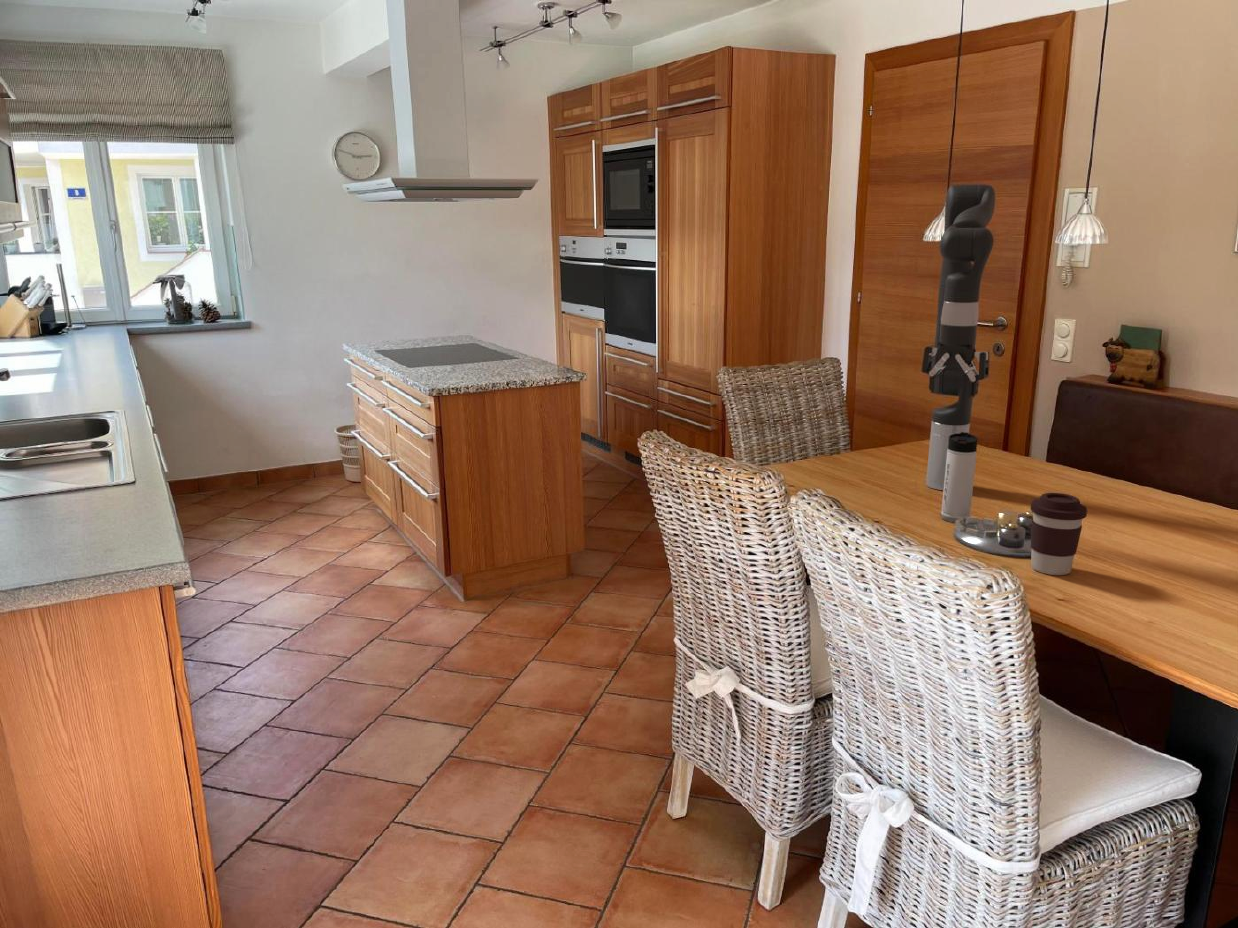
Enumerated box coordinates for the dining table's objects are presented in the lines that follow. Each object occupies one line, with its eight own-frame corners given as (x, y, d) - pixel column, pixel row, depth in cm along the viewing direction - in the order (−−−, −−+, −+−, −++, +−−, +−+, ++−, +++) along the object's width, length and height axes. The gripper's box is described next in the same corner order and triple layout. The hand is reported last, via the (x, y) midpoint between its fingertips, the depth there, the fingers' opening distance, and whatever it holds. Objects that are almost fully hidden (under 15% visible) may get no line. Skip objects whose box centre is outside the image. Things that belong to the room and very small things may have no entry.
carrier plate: (975, 518, 210) (978, 492, 208) (1071, 539, 196) (1075, 512, 194) (936, 541, 195) (939, 513, 193) (1038, 565, 181) (1042, 536, 179)
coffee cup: (1015, 560, 184) (1024, 489, 180) (1064, 560, 184) (1074, 490, 180) (1035, 578, 174) (1045, 504, 170) (1087, 579, 174) (1098, 505, 170)
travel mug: (970, 516, 211) (979, 433, 206) (968, 524, 205) (977, 439, 200) (942, 512, 214) (950, 430, 208) (939, 521, 208) (947, 436, 203)
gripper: (998, 323, 194) (991, 396, 199) (935, 318, 204) (929, 388, 208) (984, 326, 189) (976, 402, 194) (920, 321, 199) (914, 393, 203)
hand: (952, 395), depth 201 cm, fingers open, 8 cm apart
